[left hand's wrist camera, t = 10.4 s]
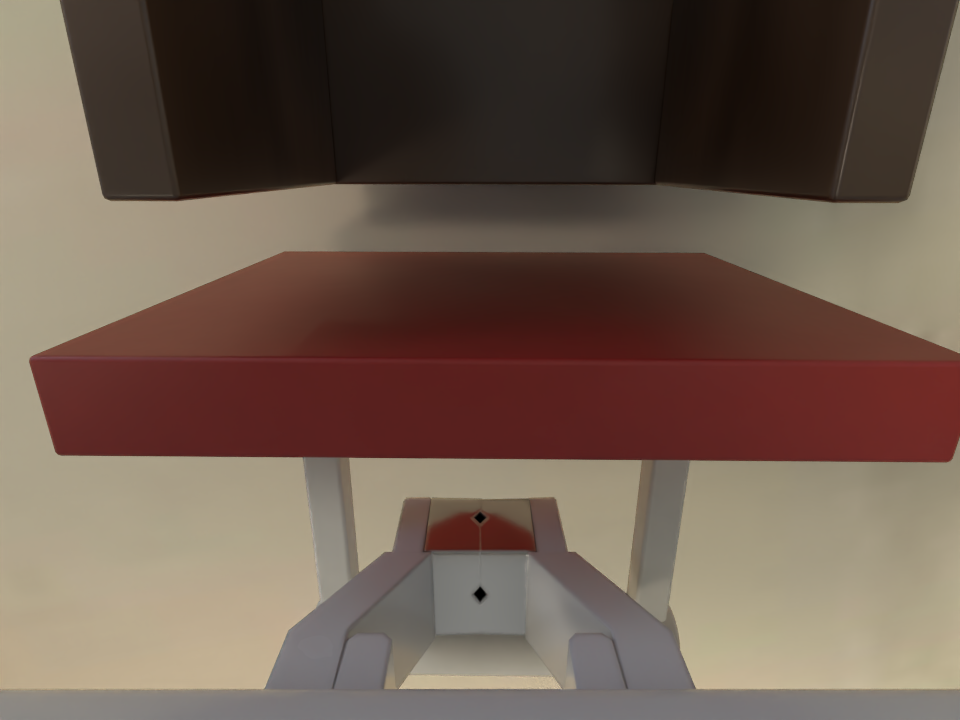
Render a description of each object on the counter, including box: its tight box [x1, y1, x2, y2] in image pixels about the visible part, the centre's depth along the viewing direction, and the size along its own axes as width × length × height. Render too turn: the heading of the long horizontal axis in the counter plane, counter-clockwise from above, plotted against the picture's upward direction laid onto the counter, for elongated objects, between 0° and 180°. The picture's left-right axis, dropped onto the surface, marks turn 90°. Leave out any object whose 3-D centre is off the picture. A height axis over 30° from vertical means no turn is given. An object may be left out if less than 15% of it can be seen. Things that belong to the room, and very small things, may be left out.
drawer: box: [29, 0, 960, 677], centre depth 8 cm, size 22×10×8 cm, turn 0°
